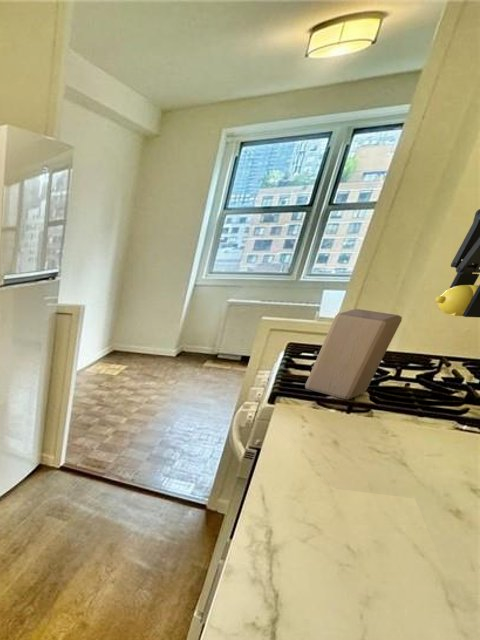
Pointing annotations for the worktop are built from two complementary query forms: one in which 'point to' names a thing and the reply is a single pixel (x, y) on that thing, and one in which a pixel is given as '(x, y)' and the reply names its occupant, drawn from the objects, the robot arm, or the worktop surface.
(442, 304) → the lemon
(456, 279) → the robot arm
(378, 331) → the block
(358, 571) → the worktop surface
